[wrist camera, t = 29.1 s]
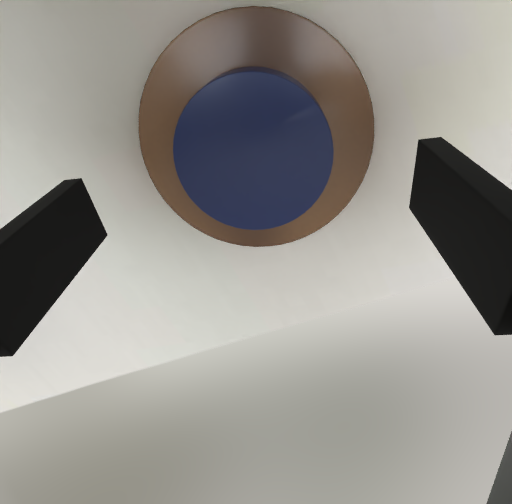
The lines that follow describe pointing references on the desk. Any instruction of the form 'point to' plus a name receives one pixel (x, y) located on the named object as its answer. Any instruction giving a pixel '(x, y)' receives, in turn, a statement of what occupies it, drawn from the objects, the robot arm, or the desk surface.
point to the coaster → (274, 57)
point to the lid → (253, 148)
